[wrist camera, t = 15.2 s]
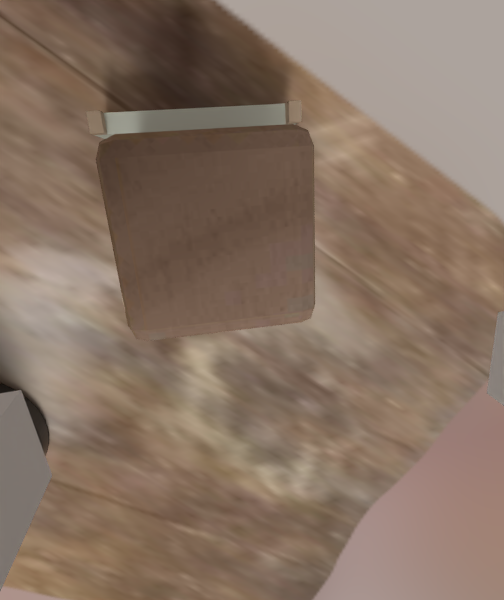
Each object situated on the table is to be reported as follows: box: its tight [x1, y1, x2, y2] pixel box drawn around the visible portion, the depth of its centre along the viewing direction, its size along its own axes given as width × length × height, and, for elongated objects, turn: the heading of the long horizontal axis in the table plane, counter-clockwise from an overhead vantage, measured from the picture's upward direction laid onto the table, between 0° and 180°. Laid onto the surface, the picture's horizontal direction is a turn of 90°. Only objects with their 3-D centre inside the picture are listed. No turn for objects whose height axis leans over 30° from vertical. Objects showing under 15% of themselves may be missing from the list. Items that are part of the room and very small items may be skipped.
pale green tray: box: [86, 100, 302, 310], centre depth 34 cm, size 16×16×7 cm
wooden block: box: [96, 124, 315, 341], centre depth 27 cm, size 10×10×20 cm
